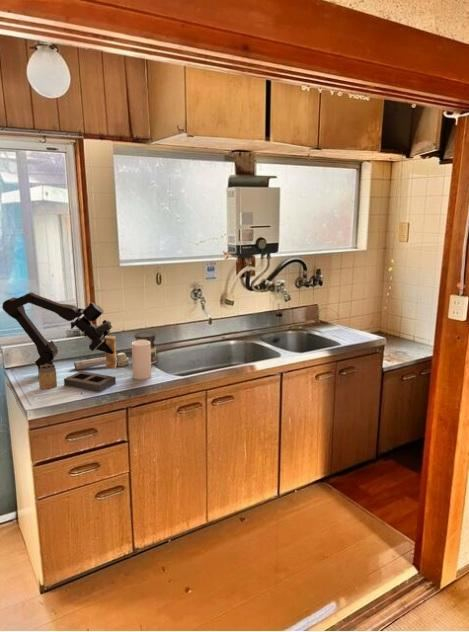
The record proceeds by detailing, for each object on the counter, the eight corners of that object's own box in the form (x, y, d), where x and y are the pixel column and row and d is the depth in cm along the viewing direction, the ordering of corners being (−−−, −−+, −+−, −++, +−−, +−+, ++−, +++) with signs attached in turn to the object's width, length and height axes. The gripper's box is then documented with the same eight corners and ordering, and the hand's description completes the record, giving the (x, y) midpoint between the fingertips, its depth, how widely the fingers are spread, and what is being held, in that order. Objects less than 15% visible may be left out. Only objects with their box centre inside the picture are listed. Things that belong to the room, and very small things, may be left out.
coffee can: (154, 357, 238) (154, 331, 235) (157, 363, 228) (156, 336, 225) (134, 359, 235) (133, 332, 232) (136, 365, 225) (135, 337, 222)
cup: (132, 379, 206) (131, 345, 203) (133, 373, 214) (132, 340, 211) (151, 379, 207) (150, 344, 204) (151, 373, 215) (150, 339, 212)
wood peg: (106, 368, 208) (104, 338, 205) (107, 365, 212) (106, 336, 209) (115, 368, 208) (113, 338, 205) (116, 365, 212) (115, 336, 209)
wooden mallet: (73, 360, 220) (126, 348, 228) (76, 373, 222) (128, 361, 230) (74, 364, 215) (127, 351, 223) (76, 377, 217) (130, 364, 225)
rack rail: (64, 385, 198) (63, 378, 198) (81, 377, 208) (81, 371, 208) (99, 392, 192) (99, 385, 191) (115, 383, 202) (115, 377, 201)
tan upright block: (56, 384, 200) (54, 362, 197) (58, 387, 196) (56, 364, 194) (38, 387, 196) (36, 364, 194) (40, 390, 193) (38, 367, 191)
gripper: (95, 320, 196) (122, 345, 199) (104, 311, 214) (129, 334, 217) (77, 338, 197) (104, 363, 200) (88, 327, 215) (113, 350, 218)
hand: (113, 352), depth 209 cm, fingers closed on wood peg, 4 cm apart
